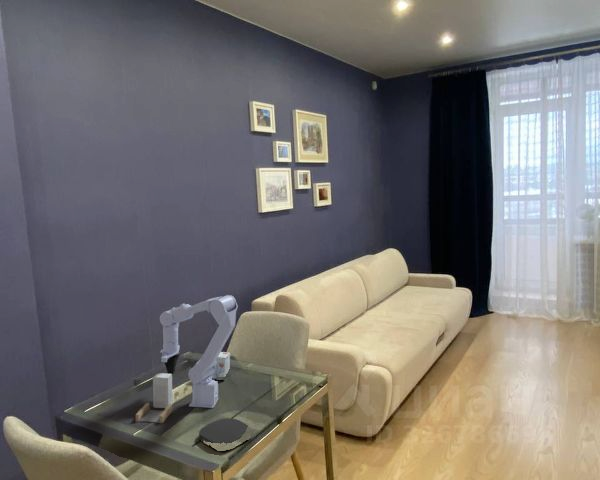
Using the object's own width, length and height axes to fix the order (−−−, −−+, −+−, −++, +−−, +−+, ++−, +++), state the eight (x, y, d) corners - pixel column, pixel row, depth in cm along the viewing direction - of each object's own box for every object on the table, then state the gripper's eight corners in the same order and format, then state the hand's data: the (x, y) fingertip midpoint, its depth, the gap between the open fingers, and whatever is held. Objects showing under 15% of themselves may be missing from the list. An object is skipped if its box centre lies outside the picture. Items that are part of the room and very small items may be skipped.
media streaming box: (256, 437, 146) (256, 428, 146) (221, 456, 136) (221, 446, 135) (228, 422, 156) (228, 414, 156) (194, 438, 145) (194, 429, 145)
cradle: (172, 410, 163) (172, 404, 163) (162, 423, 154) (162, 416, 154) (146, 409, 164) (146, 402, 164) (135, 421, 155) (135, 414, 155)
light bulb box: (201, 379, 191) (201, 355, 190) (207, 373, 198) (207, 350, 197) (225, 381, 190) (225, 357, 188) (230, 375, 196) (230, 352, 195)
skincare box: (172, 403, 169) (172, 373, 168) (168, 408, 164) (168, 378, 163) (157, 402, 169) (157, 372, 168) (152, 407, 165) (152, 377, 164)
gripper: (167, 333, 181) (168, 365, 182) (153, 345, 166) (153, 380, 168) (184, 334, 180) (184, 366, 181) (171, 346, 166) (171, 381, 167)
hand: (170, 373), depth 174 cm, fingers closed
